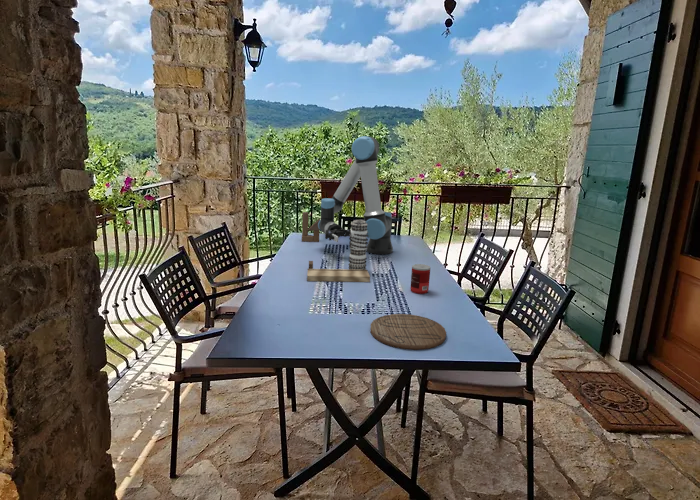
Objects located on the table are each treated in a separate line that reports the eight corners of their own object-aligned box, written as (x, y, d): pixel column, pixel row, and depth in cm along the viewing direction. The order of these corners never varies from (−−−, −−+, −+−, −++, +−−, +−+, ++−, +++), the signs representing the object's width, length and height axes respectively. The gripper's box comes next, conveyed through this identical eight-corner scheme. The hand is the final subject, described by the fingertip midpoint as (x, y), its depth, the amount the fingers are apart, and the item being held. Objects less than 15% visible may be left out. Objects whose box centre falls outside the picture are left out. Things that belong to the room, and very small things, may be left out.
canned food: (429, 289, 190) (431, 265, 187) (426, 295, 183) (428, 270, 180) (412, 287, 192) (414, 263, 190) (408, 292, 185) (410, 267, 182)
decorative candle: (370, 271, 213) (373, 221, 207) (357, 275, 206) (360, 223, 200) (356, 267, 219) (359, 218, 213) (343, 270, 212) (345, 220, 206)
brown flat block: (312, 268, 214) (313, 260, 213) (312, 272, 208) (313, 264, 207) (308, 268, 213) (308, 260, 212) (308, 272, 208) (308, 264, 207)
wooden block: (319, 242, 270) (319, 213, 266) (301, 241, 269) (302, 212, 265) (319, 240, 274) (319, 212, 269) (301, 240, 273) (302, 211, 269)
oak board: (366, 274, 208) (367, 269, 207) (369, 282, 197) (369, 276, 196) (307, 273, 205) (307, 268, 204) (307, 281, 194) (307, 275, 194)
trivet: (455, 351, 135) (456, 345, 134) (375, 351, 133) (375, 345, 132) (434, 319, 159) (434, 314, 159) (366, 318, 157) (366, 313, 156)
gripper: (354, 235, 242) (371, 244, 224) (311, 238, 232) (326, 247, 213) (354, 222, 241) (372, 230, 222) (312, 224, 230) (327, 232, 212)
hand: (350, 238), depth 218 cm, fingers open, 13 cm apart
